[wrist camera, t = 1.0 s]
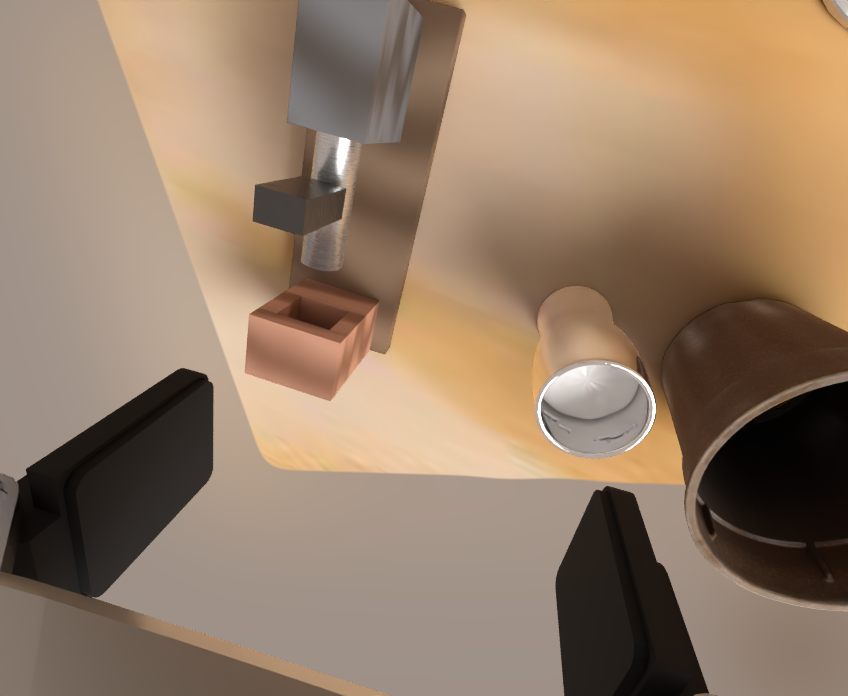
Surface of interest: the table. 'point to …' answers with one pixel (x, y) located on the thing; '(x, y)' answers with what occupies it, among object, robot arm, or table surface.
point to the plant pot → (765, 447)
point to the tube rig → (359, 179)
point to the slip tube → (315, 202)
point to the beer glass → (588, 378)
